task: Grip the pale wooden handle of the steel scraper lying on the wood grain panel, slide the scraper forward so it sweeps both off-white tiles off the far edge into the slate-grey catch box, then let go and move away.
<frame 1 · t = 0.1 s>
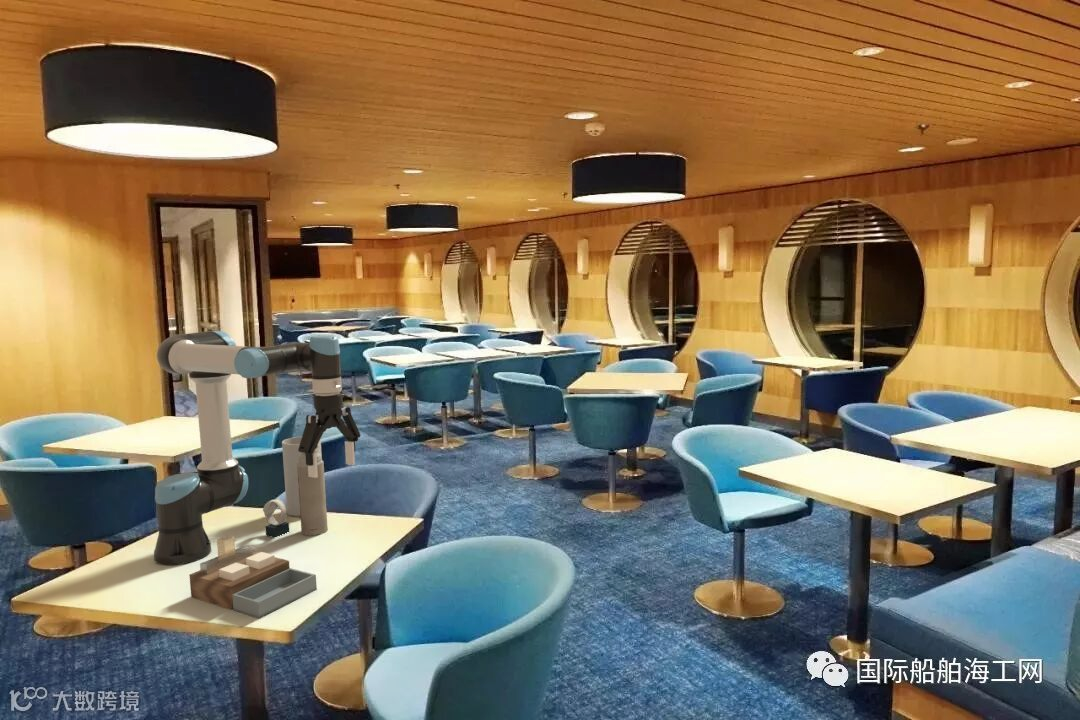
hand: (332, 470, 201), 28 cm above the table, tool pointing down, fingers open, 13 cm apart
cylinder vase: (306, 511, 256), on the table
catch box: (276, 599, 187), on the table
tile a: (234, 575, 187), point 6 cm above the table, touching wood grain panel
tile b: (260, 564, 194), point 6 cm above the table, touching wood grain panel
thermos bottle: (314, 531, 235), on the table
scraper: (227, 564, 195), point 6 cm above the table, touching wood grain panel
watch: (277, 534, 234), on the table
wood grain panel: (241, 589, 193), on the table
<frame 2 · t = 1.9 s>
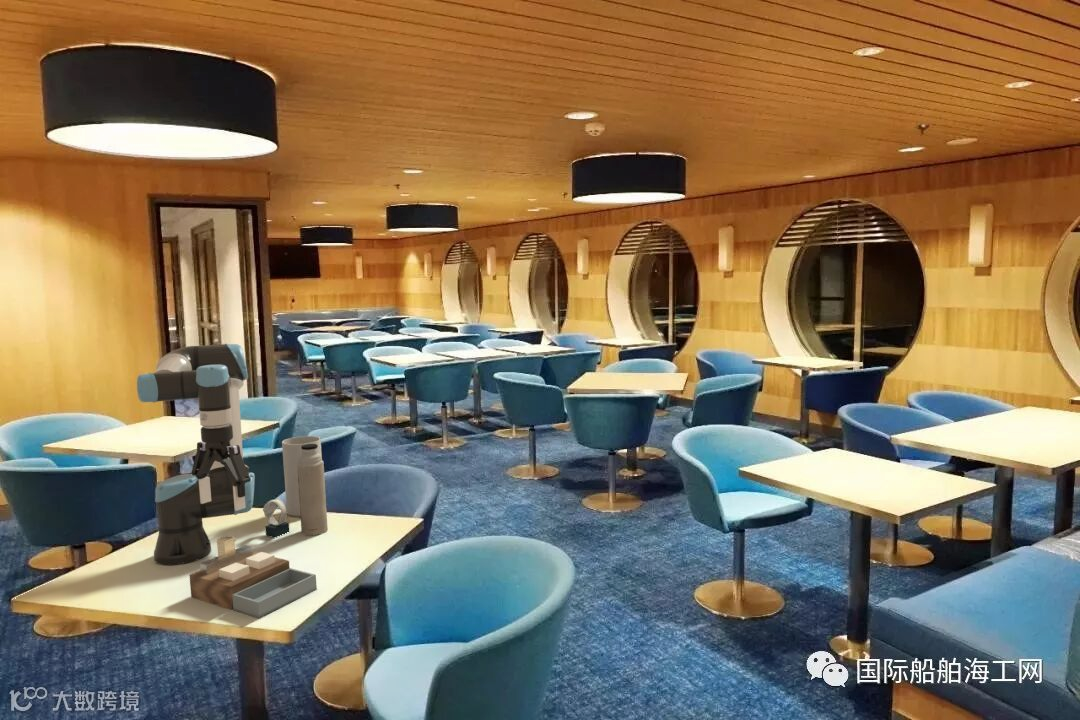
hand: (222, 505, 193), 22 cm above the table, tool pointing down, fingers open, 13 cm apart
nothing on the table moved.
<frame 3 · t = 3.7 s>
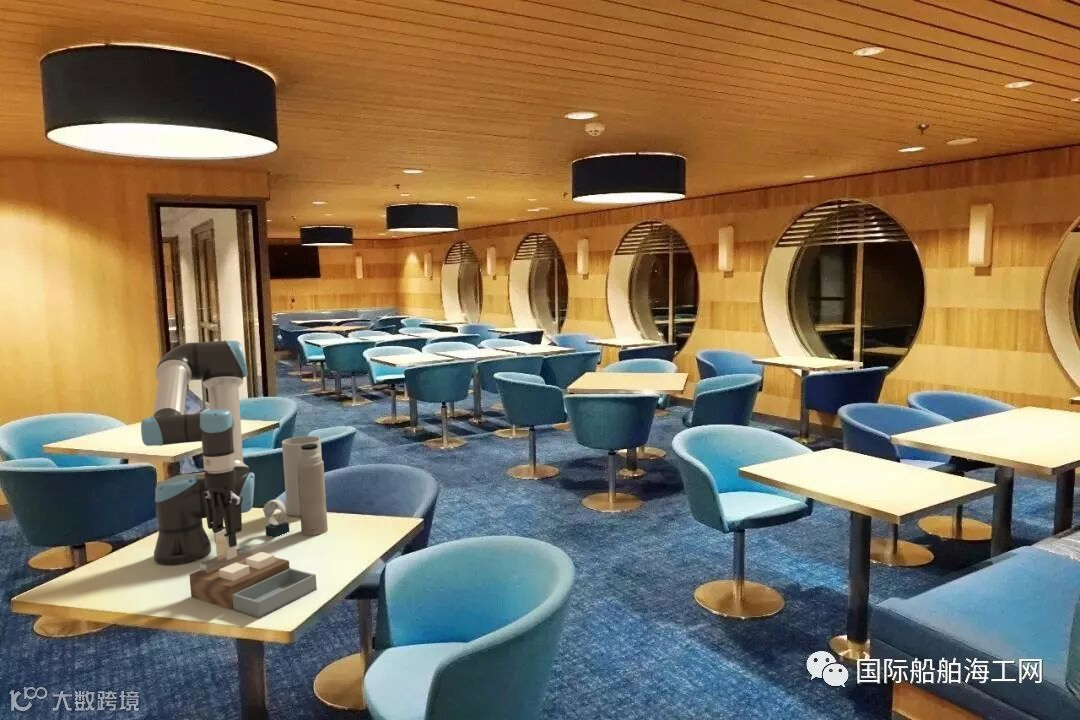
hand: (226, 556, 195), 8 cm above the table, tool pointing down, fingers closed on scraper, 3 cm apart
scraper: (227, 564, 195), point 6 cm above the table, touching gripper, wood grain panel
everything else where it was.
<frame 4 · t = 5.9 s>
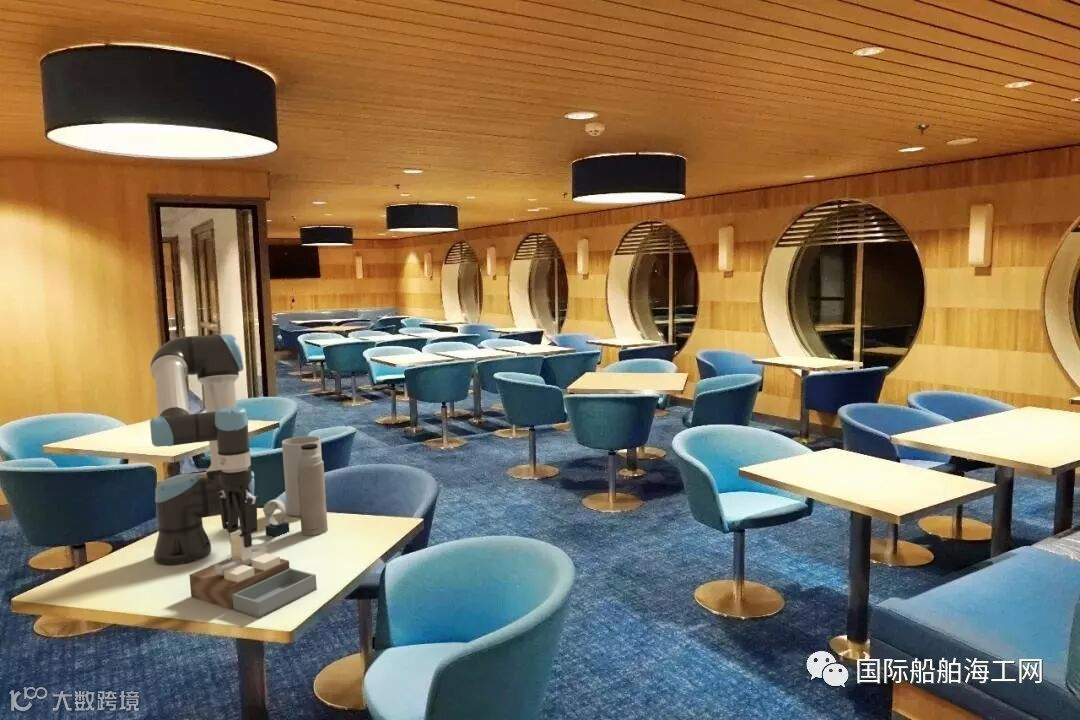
hand: (241, 557, 191), 9 cm above the table, tool pointing down, fingers closed on scraper, 3 cm apart
tile a: (239, 576, 186), point 6 cm above the table
tile b: (266, 565, 193), point 6 cm above the table, touching wood grain panel
scraper: (242, 564, 192), point 7 cm above the table, touching gripper
everything else where it was.
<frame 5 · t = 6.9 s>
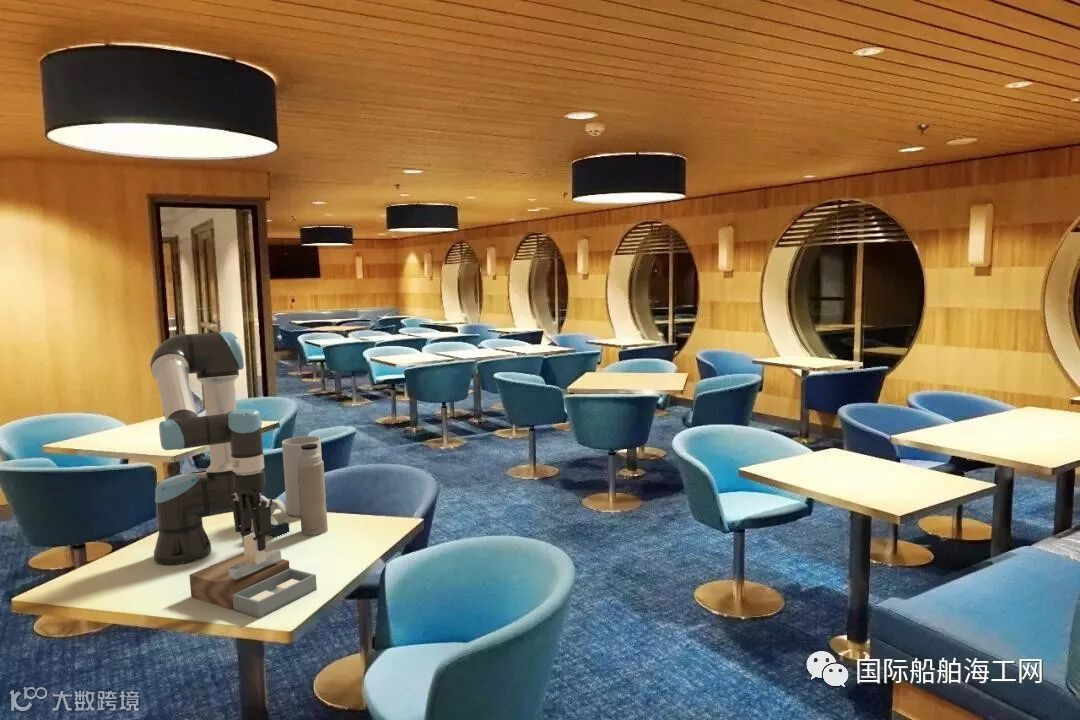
hand: (255, 560, 189), 9 cm above the table, tool pointing down, fingers closed on scraper, 3 cm apart
tile a: (264, 596, 183), point 3 cm above the table, tilted 180°, touching catch box
tile b: (290, 584, 189), point 3 cm above the table, tilted 180°, touching catch box
scraper: (255, 568, 189), point 7 cm above the table, touching gripper
everything else where it was.
when the fingers open (9 cm above the table, at t = 8.3 s): scraper stays where it is, resting on wood grain panel.
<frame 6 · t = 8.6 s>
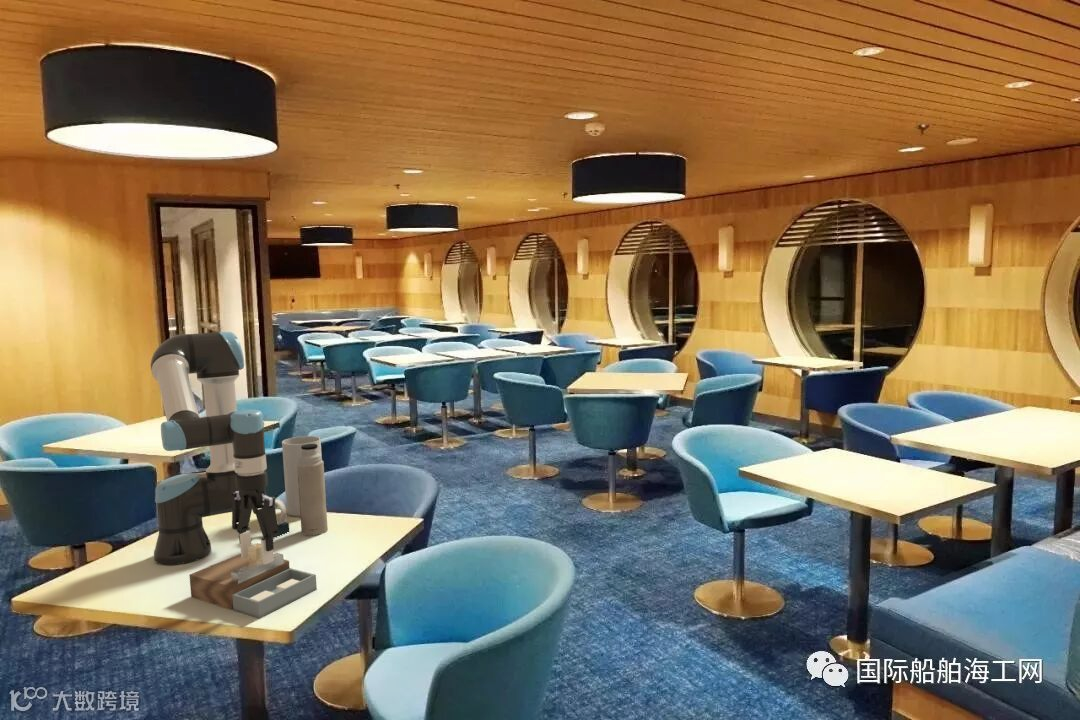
hand: (257, 559, 189), 9 cm above the table, tool pointing down, fingers open, 7 cm apart
scraper: (258, 572, 189), point 6 cm above the table, touching wood grain panel
everything else where it was.
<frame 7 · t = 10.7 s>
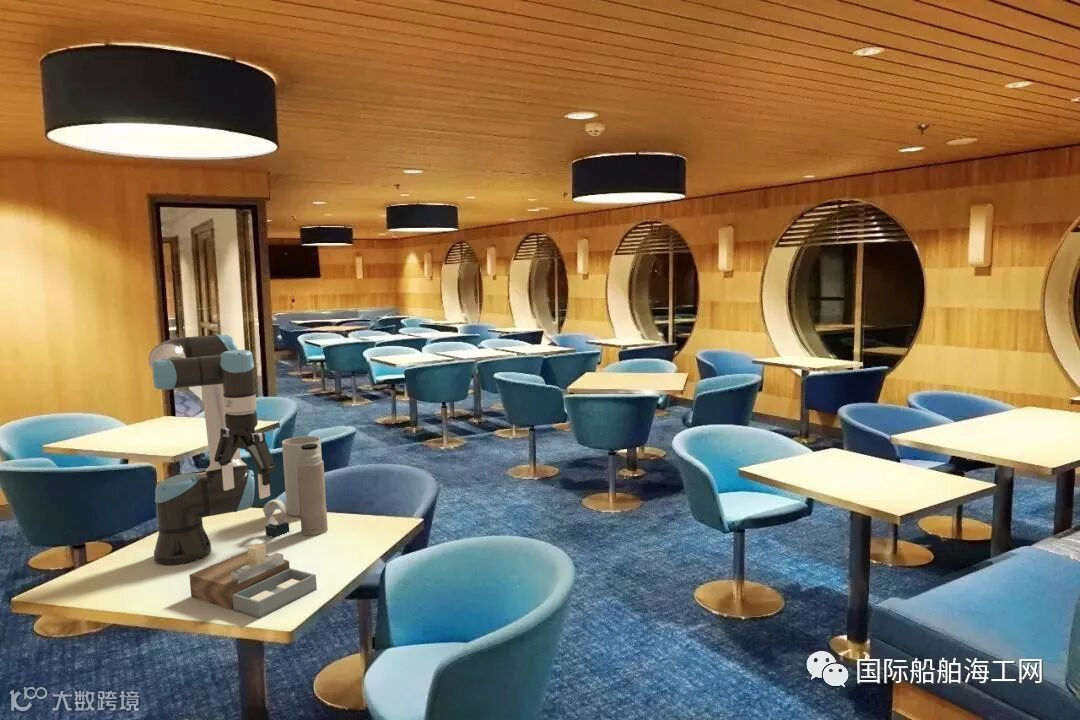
hand: (246, 493, 190), 26 cm above the table, tool pointing down, fingers open, 13 cm apart
nothing on the table moved.
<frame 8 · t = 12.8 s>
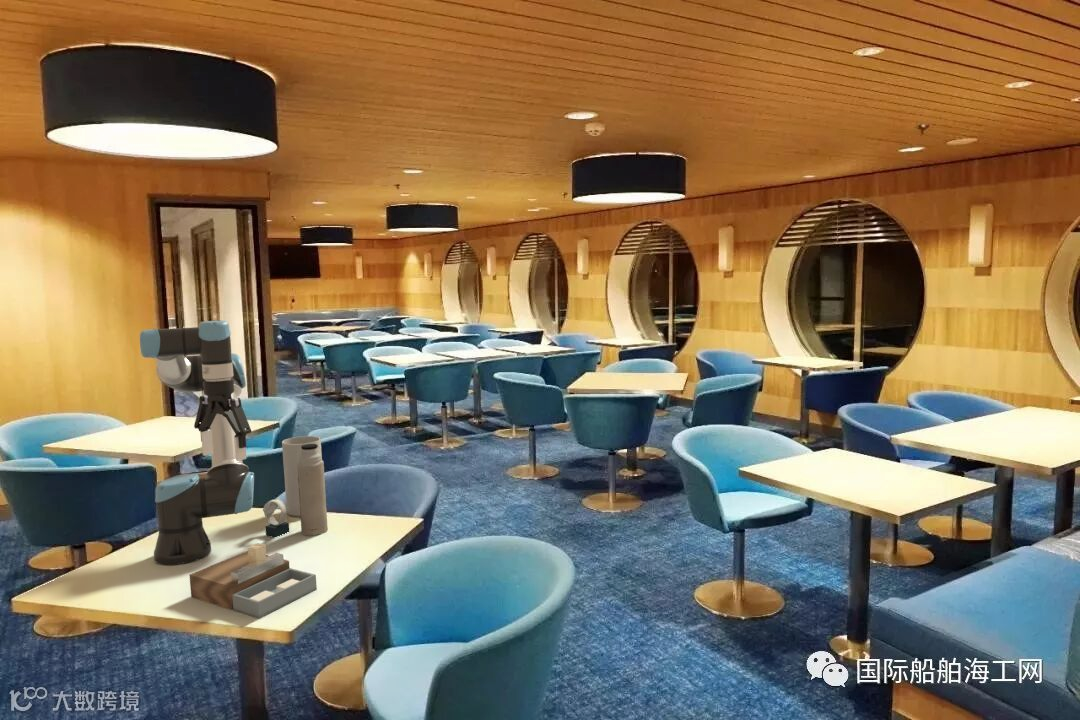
hand: (224, 457, 200), 33 cm above the table, tool pointing down, fingers open, 13 cm apart
nothing on the table moved.
at the end: tile a inside the target area on the catch box (3.9 cm from its centre), point 2.6 cm above the catch box's base; tile b inside the target area on the catch box (4.2 cm from its centre), point 2.6 cm above the catch box's base; scraper touching wood grain panel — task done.
